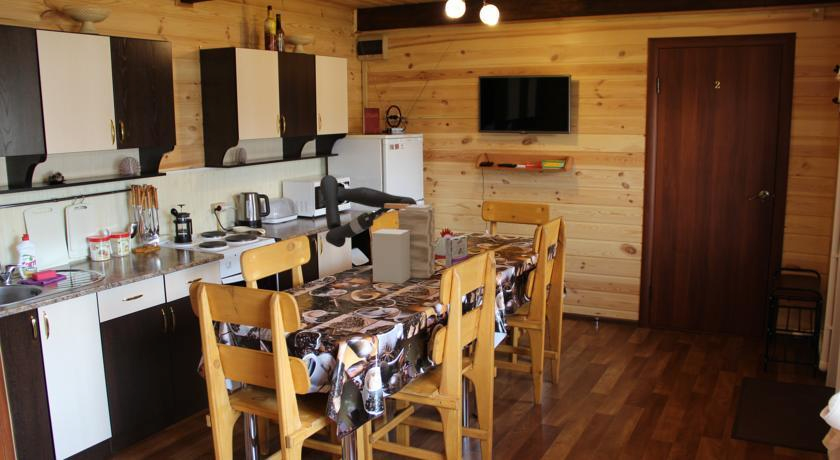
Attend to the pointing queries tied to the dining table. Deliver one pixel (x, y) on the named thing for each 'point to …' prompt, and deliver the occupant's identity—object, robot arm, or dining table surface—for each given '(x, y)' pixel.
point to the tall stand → (420, 241)
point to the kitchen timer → (442, 244)
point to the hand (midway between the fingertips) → (387, 207)
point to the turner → (408, 206)
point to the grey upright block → (391, 255)
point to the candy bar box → (456, 250)
